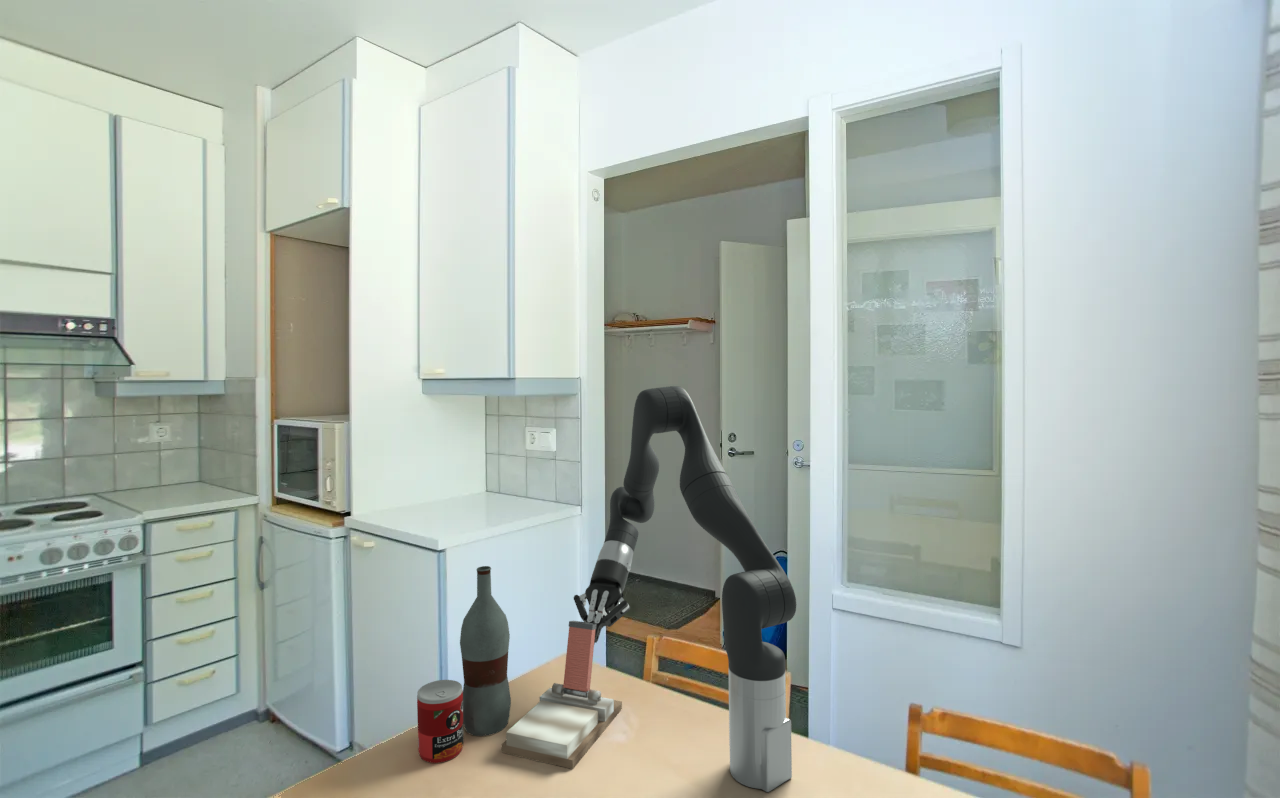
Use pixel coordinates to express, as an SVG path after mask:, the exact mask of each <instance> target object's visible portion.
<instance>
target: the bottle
mask: <svg viewBox="0 0 1280 798" xmlns="http://www.w3.org/2000/svg"><path fill="white" fill-rule="evenodd" d="M491 570H492V568H491V566H489V565H485V566H484V565H482V566H478V567H476V598H475V599H474V601H473V603H472V604H471V606H470V608H469V609H468V611H467V612H466V614H465V616H464V618H463V620H462V624H461V627H460V637H459V647H460V648H459V649H460V653H461V663H462V664H461V665H462V672H463V673H462V674H463V686H462V690H463V728H464V729H465V732H466V733H467V734H469V735H471V736H476V737H484V736H485V737H487V736H491V735H493V734H495V735H496V734H497V733H499V732H501V731H503V730H504V729H505V728H507V725H508V723H509V719H510V716H511V706H512V705H511V703H512V697H511V690H510V684H509V683H510V682H509V678H508V662H509V661H508V660H509V650H510V649H509V646H510V638H511V637H510V627H509V622H508V621H509V620H508V618H507V616H506V613H505V612H504V611H503V609H502V607H500V605H499V604H498V602H497V601H496V599H495V598H494V596H493V595H492V578H491V577H492V576H491Z"/></svg>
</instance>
